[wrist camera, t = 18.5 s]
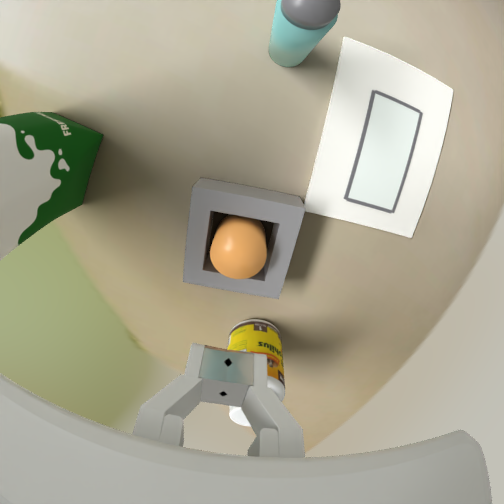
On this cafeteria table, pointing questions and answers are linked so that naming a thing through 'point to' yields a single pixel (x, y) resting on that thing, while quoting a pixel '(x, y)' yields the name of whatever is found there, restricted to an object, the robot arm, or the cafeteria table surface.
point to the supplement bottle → (261, 342)
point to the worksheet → (378, 141)
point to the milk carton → (41, 172)
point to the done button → (239, 247)
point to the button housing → (247, 205)
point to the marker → (300, 28)
